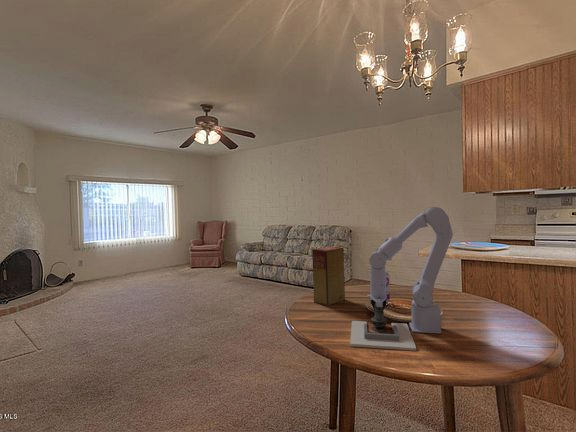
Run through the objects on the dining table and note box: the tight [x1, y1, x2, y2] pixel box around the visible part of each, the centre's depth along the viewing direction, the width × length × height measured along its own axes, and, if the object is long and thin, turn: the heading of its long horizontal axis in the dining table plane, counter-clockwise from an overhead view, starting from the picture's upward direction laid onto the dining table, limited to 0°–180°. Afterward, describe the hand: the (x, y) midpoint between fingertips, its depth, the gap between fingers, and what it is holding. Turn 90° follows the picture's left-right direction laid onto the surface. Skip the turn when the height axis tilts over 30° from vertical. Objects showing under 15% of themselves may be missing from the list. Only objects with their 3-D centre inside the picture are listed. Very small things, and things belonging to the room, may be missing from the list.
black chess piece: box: [370, 297, 388, 333], centre depth 114 cm, size 6×6×12 cm
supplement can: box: [370, 269, 391, 303], centre depth 141 cm, size 8×8×15 cm
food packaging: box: [311, 246, 346, 307], centre depth 148 cm, size 13×9×25 cm
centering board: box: [349, 320, 417, 352], centre depth 108 cm, size 20×20×2 cm
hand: (378, 319), depth 118 cm, fingers closed
